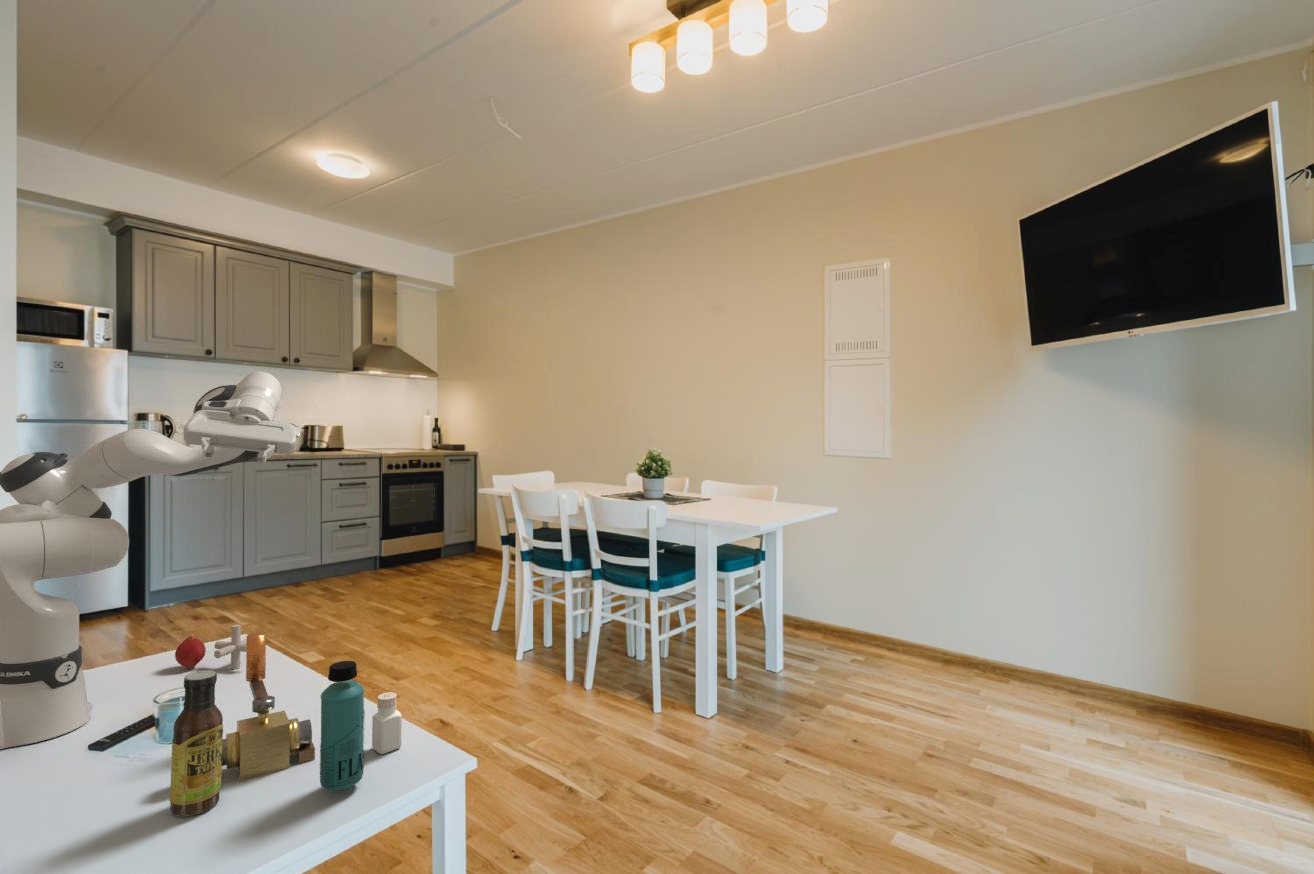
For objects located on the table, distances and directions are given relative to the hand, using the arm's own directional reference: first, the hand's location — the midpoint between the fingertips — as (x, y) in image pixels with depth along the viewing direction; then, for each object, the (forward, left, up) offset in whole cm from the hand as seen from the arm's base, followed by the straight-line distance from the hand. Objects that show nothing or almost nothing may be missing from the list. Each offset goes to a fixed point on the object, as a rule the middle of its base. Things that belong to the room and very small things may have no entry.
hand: (234, 457), depth 131 cm
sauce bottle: (+23, -33, -51) cm, 65 cm away
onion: (-24, +15, -51) cm, 58 cm away
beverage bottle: (+41, -25, -51) cm, 70 cm away
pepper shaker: (+41, -12, -51) cm, 66 cm away
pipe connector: (-14, +17, -51) cm, 56 cm away
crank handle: (+20, -17, -41) cm, 48 cm away
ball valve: (+23, -22, -51) cm, 60 cm away
